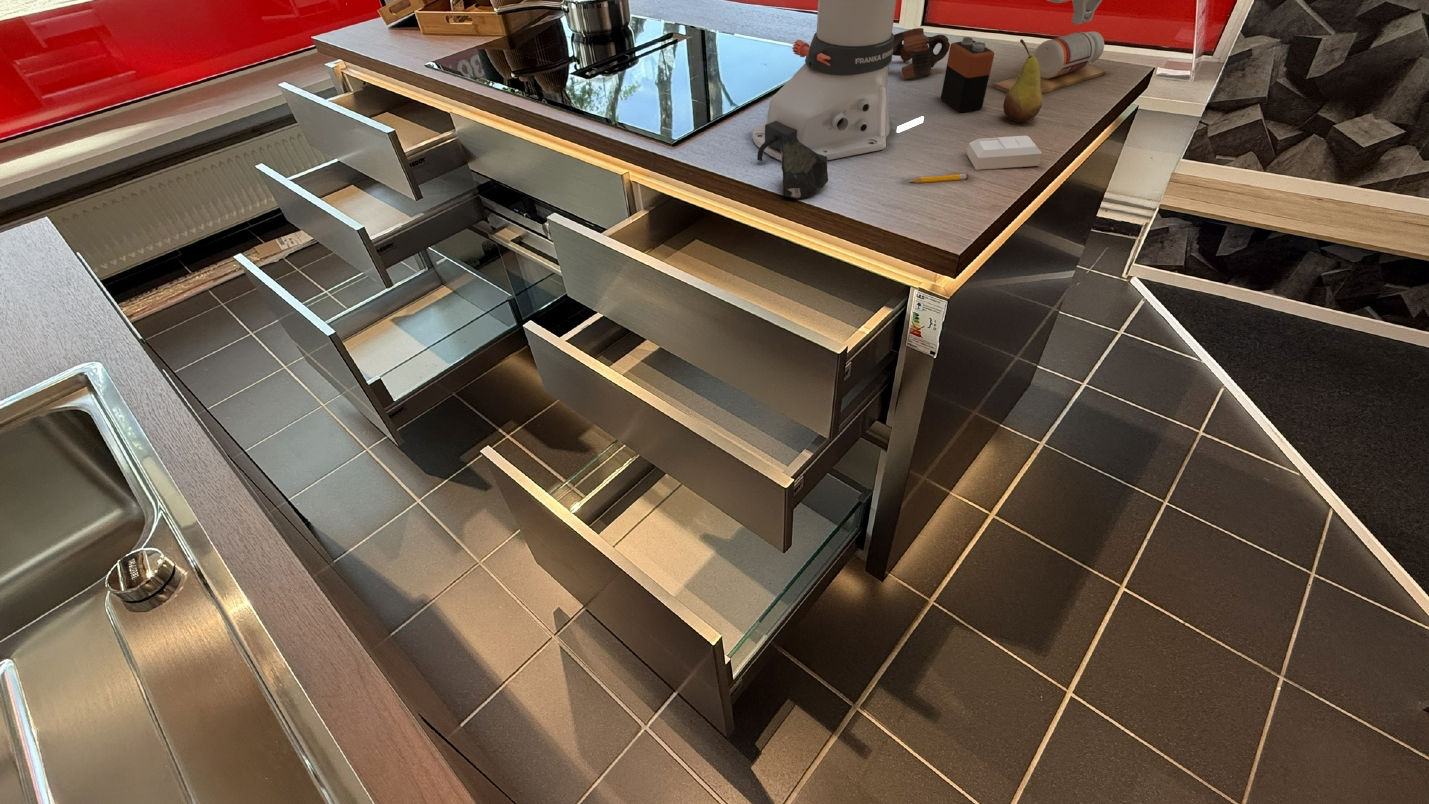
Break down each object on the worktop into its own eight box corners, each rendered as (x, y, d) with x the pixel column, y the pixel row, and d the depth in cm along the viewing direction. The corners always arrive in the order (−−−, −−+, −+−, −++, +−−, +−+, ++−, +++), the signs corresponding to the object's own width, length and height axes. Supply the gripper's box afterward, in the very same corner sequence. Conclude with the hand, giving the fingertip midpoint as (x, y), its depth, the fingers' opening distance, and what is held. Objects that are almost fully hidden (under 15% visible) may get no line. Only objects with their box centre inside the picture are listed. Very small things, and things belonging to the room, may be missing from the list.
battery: (959, 113, 113) (973, 49, 106) (939, 99, 118) (950, 36, 111) (983, 109, 114) (997, 45, 107) (961, 95, 119) (974, 33, 112)
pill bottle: (1026, 71, 123) (1071, 58, 127) (1053, 84, 119) (1097, 71, 123) (1038, 35, 118) (1084, 23, 122) (1066, 47, 115) (1112, 34, 118)
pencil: (969, 176, 97) (967, 172, 97) (909, 181, 97) (908, 177, 97) (967, 180, 98) (966, 176, 98) (908, 185, 98) (907, 181, 98)
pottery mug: (888, 85, 125) (880, 36, 123) (885, 91, 134) (877, 46, 131) (956, 65, 122) (949, 15, 120) (948, 72, 131) (942, 26, 129)
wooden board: (1023, 99, 116) (1024, 95, 116) (993, 87, 121) (994, 83, 120) (1104, 74, 123) (1106, 70, 122) (1073, 63, 127) (1074, 59, 127)
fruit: (1022, 130, 108) (1045, 49, 99) (992, 119, 111) (1011, 39, 103) (1044, 120, 110) (1068, 40, 102) (1014, 110, 113) (1035, 31, 105)
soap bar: (1038, 165, 99) (1043, 147, 97) (976, 169, 99) (979, 152, 97) (1027, 150, 102) (1032, 133, 101) (966, 154, 103) (970, 137, 101)
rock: (831, 132, 95) (825, 150, 100) (781, 131, 95) (778, 149, 100) (831, 193, 93) (826, 209, 98) (781, 193, 94) (778, 208, 98)
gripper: (1080, -62, 102) (1052, 39, 111) (1171, -81, 108) (1136, 16, 118) (1047, -69, 106) (1022, 29, 116) (1136, -87, 112) (1105, 7, 122)
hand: (1080, 22), depth 117 cm, fingers closed
